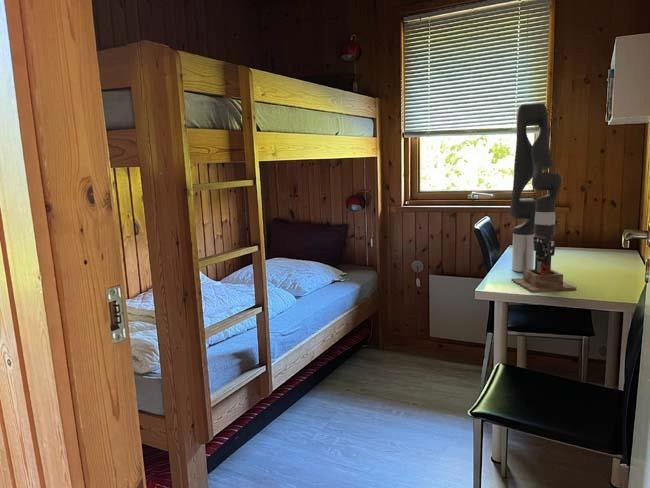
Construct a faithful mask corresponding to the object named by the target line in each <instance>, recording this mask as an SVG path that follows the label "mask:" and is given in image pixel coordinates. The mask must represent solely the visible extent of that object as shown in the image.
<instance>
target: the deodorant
mask: <svg viewBox="0 0 650 488" xmlns="http://www.w3.org/2000/svg"><path fill="white" fill-rule="evenodd" d="M543 245H544V247H545V248H547V247H548V245H546V246H545V243H540V242H537V241H536V251H534V269H535V274H537V275H547V274H551V270H552V257H551V258H550V266H545V265H544V251H543ZM546 252H547V251H546ZM551 253H552V250H551Z"/></svg>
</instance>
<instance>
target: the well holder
mask: <svg viewBox="0 0 650 488" xmlns="http://www.w3.org/2000/svg"><path fill="white" fill-rule="evenodd" d="M522 274H523V277H520V278H511V282H512V281H513V282H512V283H514V282H515V283H514V284H515V285H518V286H519V285H520V286H519V287H521V288H522V289H525V290H526V289H527V291H528V292H530V293H540V292H541V293H543V292H542V291H545V292H561V291H562V290H566V291H577V287H576V286H574V285H572V284H569V283H568V282H565V281H564V274H562V273H560V272H558V271H555V270H553V269H551V274H547V275H537V274H535V268H533V269H532V270H524V272H523V273H522ZM562 292H563V291H562Z"/></svg>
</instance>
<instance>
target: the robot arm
mask: <svg viewBox="0 0 650 488" xmlns="http://www.w3.org/2000/svg"><path fill="white" fill-rule="evenodd" d="M547 109H548V108H547V106H546V105H545V103H543V102H530V103H522V104H519V106H518V108H517V111H516V144H515V155H514V166H513V182H512V186H513V187H512V192H511V193H512V194H511V199H510V207H509V212H510V214H509V215H510V218H512V219H515V220H525V219H526V221H525V222H523V223H521V224H519V225H517V226H514V227H513V228H512V252H511V253H512V255H511V258H512V259H511V270H512V271H514V272H518V273H524V270H532V269H534V266H535V252H536V241H537V242H540V243H545V246H546V245H548V247H547V248H545V247H544V245H543V251H544V265H545V266H550V258H551V259H552V256H553V257H554V256H555V252H556V251H555V250H556V241H555V240H553V239H552V236H554V235H555V233H556V201H557V197H558V194H559V190H560V188H561V185H562V176H561V174H560V173H558V172H557V171H555V172H554V171H552V172H551V171H550V172H547V170H549V169H550V168H551V167H552V166H553V159H552V154H551V149H550V143H549V142H550V141H549V140H550V139H549V138H550V137H549V119H548V117H549V116H548V110H547ZM536 126H538V133H537V136H536V137H535V140H534V141H533V144H532V143H531V141H530V139H529V137H528V134H527V127H536ZM543 171H544V172H543ZM545 171H546V172H545ZM529 182H531V186H532V188H533V189H534V190H536V191H547V193H546V194H545V195H542V196H539V197H537V198H536V199H535V198H531V197H530V198H521V195H522V192H523V191H524V189H525V187H526V186H527V185H528V184H529ZM535 235H536V236H535ZM551 250H552V252H551ZM546 251H547V252H546Z"/></svg>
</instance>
